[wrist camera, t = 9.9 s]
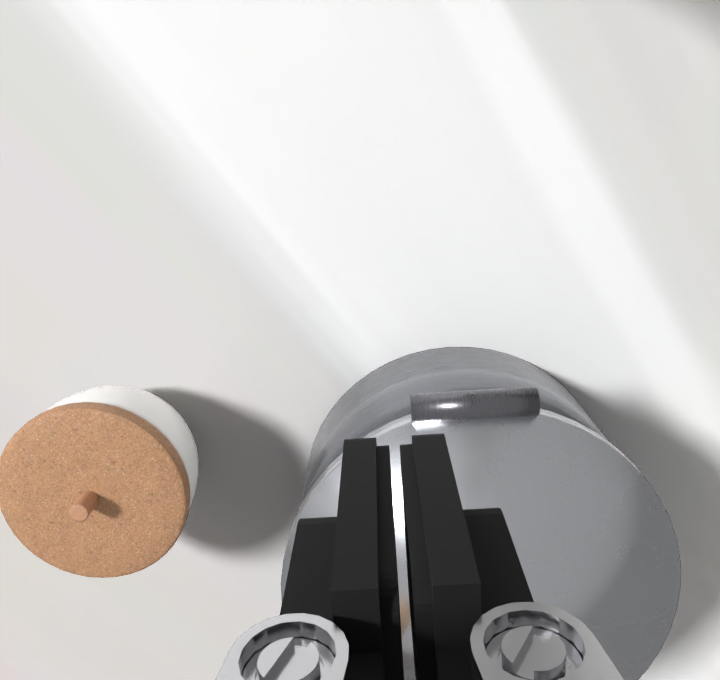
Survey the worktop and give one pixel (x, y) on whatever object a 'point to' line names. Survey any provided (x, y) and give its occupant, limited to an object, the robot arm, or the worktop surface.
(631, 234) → the worktop surface
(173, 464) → the lidded jar
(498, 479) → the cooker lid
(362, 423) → the cooker pot
